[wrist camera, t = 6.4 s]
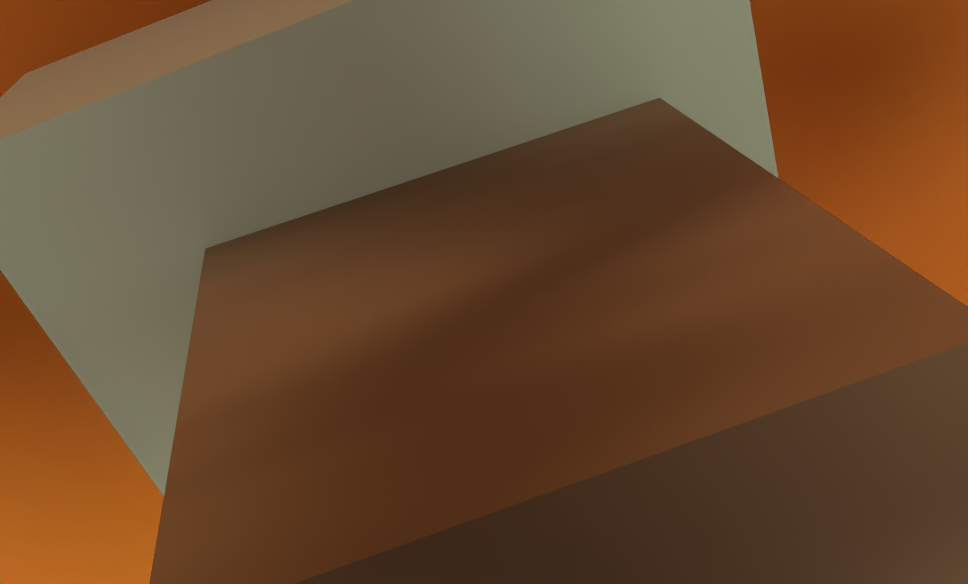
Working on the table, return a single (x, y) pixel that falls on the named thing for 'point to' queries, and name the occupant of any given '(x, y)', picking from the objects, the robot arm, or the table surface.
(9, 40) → the table surface
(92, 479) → the table surface
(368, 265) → the walnut cube
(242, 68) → the sage block
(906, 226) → the table surface
